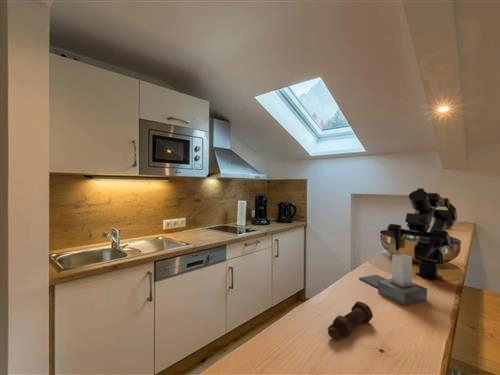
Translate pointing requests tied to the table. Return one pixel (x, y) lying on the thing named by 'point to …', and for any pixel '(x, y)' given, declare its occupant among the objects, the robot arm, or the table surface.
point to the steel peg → (402, 270)
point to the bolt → (350, 320)
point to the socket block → (402, 293)
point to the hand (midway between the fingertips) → (410, 253)
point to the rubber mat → (372, 280)
